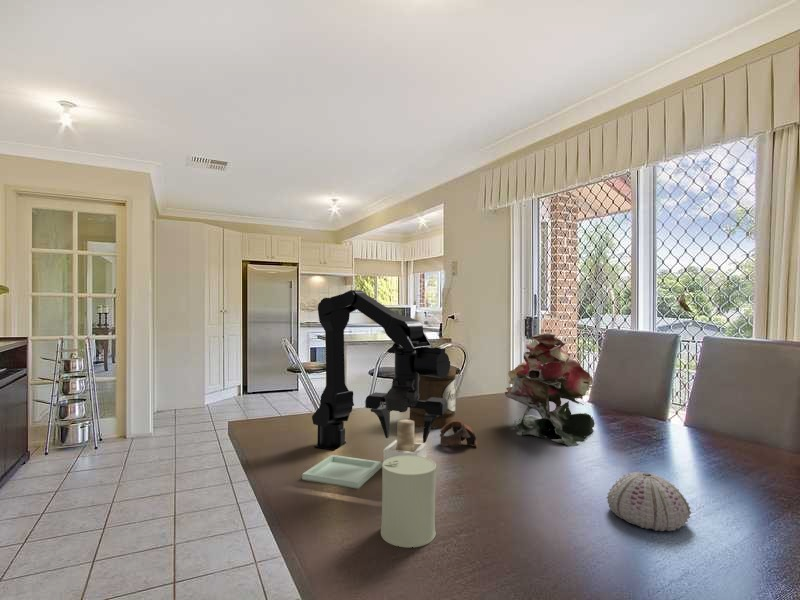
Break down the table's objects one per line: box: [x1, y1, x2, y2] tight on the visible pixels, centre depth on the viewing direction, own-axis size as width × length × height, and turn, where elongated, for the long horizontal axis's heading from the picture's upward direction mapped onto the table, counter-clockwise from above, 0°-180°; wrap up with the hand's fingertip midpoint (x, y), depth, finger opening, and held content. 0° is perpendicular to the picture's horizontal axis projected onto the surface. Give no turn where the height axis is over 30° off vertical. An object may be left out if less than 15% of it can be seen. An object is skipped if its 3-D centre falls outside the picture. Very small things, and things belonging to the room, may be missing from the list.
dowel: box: [396, 419, 415, 452], centre depth 105 cm, size 4×4×10 cm
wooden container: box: [409, 365, 457, 429], centre depth 146 cm, size 15×15×22 cm
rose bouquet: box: [504, 332, 595, 447], centre depth 140 cm, size 26×29×30 cm
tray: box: [301, 454, 383, 490], centre depth 99 cm, size 13×13×2 cm
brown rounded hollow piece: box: [439, 420, 479, 449], centre depth 121 cm, size 12×10×8 cm
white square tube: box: [382, 439, 428, 463], centre depth 105 cm, size 8×8×5 cm
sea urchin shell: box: [606, 471, 692, 532], centre depth 82 cm, size 13×14×8 cm
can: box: [380, 455, 437, 549], centre depth 75 cm, size 9×9×12 cm
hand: (405, 440), depth 105 cm, fingers open, 9 cm apart
